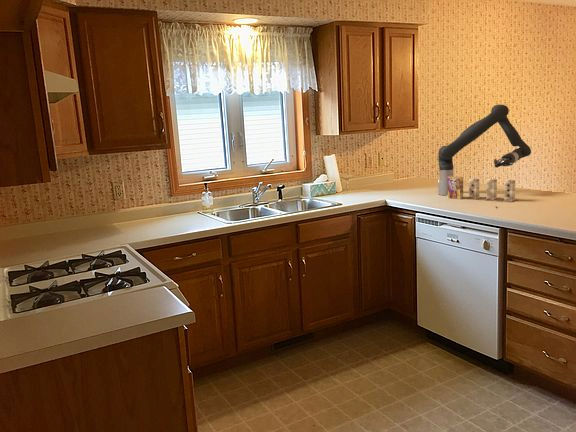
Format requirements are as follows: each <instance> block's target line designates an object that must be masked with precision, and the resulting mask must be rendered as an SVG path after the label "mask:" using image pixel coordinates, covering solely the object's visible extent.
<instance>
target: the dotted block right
mask: <svg viewBox="0 0 576 432" xmlns="http://www.w3.org/2000/svg"><path fill="white" fill-rule="evenodd" d="M503 187H504V191H503V193H504V194H503V195H504V196H503V199H504V201H514V200H515V199H516V180H515V179H506V180H504V186H503Z"/></svg>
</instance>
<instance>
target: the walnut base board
mask: <svg viewBox="0 0 576 432" xmlns="http://www.w3.org/2000/svg"><path fill="white" fill-rule="evenodd" d="M464 200H472V201H473V200H474V201H488V202H498V203H499V202H501V203H515V202H517V201H518V202H519V199H516V198H515V200H514V201H504V198H499V197H498V198H497V199H494V200H490V199H486V196H479V198H477V199H472V198H469V197H466V198H464Z"/></svg>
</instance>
